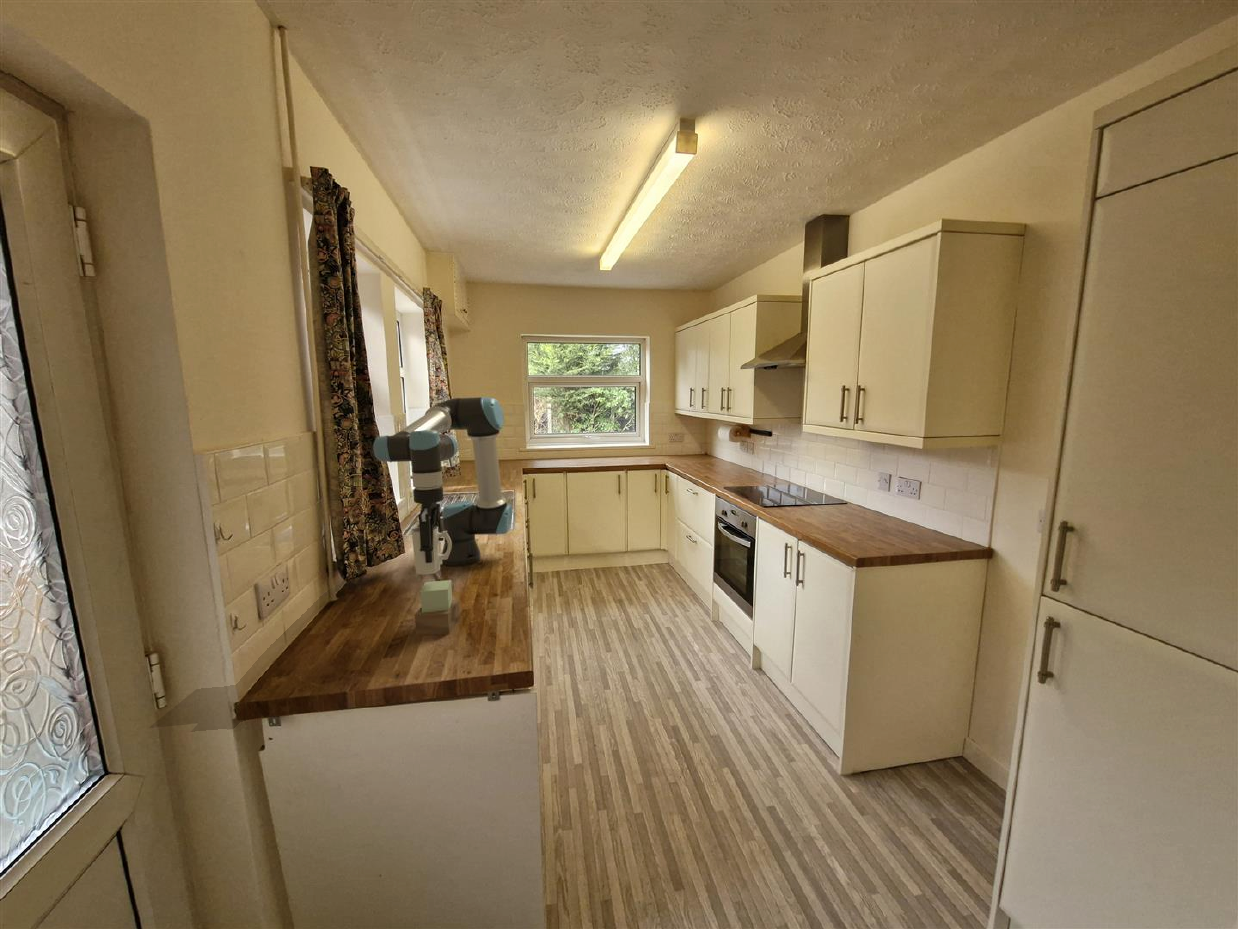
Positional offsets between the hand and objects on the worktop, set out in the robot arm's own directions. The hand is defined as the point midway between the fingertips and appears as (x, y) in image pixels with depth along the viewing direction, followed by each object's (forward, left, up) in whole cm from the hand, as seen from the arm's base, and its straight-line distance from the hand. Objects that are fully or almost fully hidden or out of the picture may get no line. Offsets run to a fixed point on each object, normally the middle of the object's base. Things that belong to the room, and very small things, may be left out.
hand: (433, 568), depth 132 cm
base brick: (0, 0, -17) cm, 17 cm away
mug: (0, 0, -1) cm, 1 cm away
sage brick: (0, 0, -11) cm, 11 cm away
